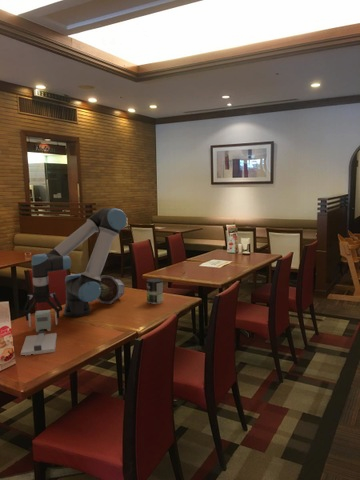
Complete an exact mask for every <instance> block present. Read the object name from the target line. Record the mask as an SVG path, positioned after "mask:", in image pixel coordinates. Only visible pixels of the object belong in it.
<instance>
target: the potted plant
mask: <svg viewBox="0 0 360 480" xmlns="http://www.w3.org/2000/svg"><path fill="white" fill-rule="evenodd" d="M100 279H101V283H100V288H101V293H100V296H99V297H98V298H97V299H96V300H98V302H99V303H101V304H106V305H107V304H109V305H111V304H112V303H114V302H115V301H116V300H119V299H120V298H122V296H124V294H125V284H124V283H123V281H122V280H121V279H117V278H114V277H113V276H111V275H100Z"/></svg>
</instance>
